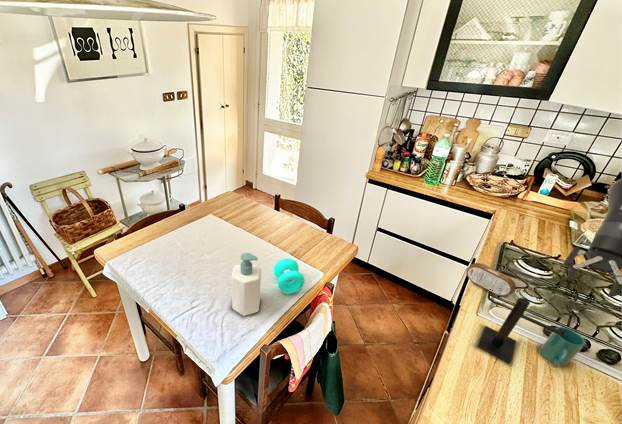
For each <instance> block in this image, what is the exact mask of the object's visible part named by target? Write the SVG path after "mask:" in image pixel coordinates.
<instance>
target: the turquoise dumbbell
mask: <svg viewBox="0 0 622 424" xmlns="http://www.w3.org/2000/svg"><path fill="white" fill-rule="evenodd" d="M287 270H288V271H287ZM299 270H300V266H299V263H298V262H297V261H296V260H295V259H293V258H289V257H288V258H287V257H286V258H281V259H280V260H278V261H277V262H276V263H275V264H274V266H273V269H272V273H273V276H274V277H275V278H276V279H277V287H278V289H279V291H280V292H282V293H284V294H288V295H289V294H294V293H295V294H296V293H297V292H299V291H300V290H301V289H302V288H303V287H304V286H305V280H306V279H305V277H304V276H305V275H303V274H302V273H301V272H300V271H299Z"/></svg>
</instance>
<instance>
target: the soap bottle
mask: <svg viewBox="0 0 622 424" xmlns="http://www.w3.org/2000/svg"><path fill="white" fill-rule="evenodd" d="M240 260H242V261H241V262H240V263H239V264H236V265H234V266H233V269H232V273H231V278H230V279H231V306H232V310H234V311H236V312H237V313H238V314H240V315H242V316H243V317H245V316H248V315H253V314H255V313H258V312H259V310H260V305H261V285H262V281H261V280H262V268H261V267H259V266H258V265H255V264H253V263H252V261H258V260H259V259H258V256H256V255H254V254H252V253H250V252H244V253H242V254H241V255H240Z"/></svg>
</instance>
